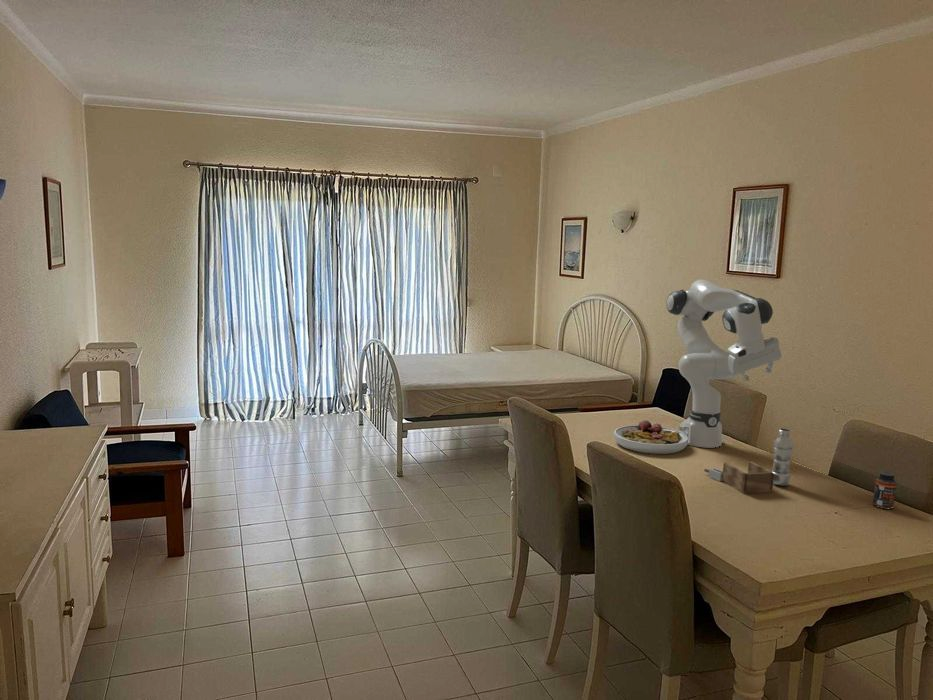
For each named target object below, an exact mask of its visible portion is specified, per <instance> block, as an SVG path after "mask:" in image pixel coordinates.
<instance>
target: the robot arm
mask: <svg viewBox="0 0 933 700" xmlns="http://www.w3.org/2000/svg"><path fill="white" fill-rule="evenodd" d="M665 304H666V310H667V311H668V313H669V314H672V315H675V316H682V317H680V319H679V320H678V322H677V331H678V335H679V337H680V340H681V342H682V344H683V347H684V348H685V350H686V352H687V354H684V355H682V356H681V357H680V359H679V361H678V365H677V366H678V370H679V371H678V372H679V373H680V375H681V376H682V377H683V378H685V380H686V381H687V382H688V383H689V385H690V387H691V388H690V389H691V390H692V406H691V407H692V409H690V410H689V412H688V413H689V416H688V418H686V419H685V420H683V421H682V422H681V423H680V425H679V428H678V429H679V430H678V431H679V432H682V433H684V434H685V435H687V437H688V443H687V445H686V446H693V447H696V448H697V447H698V448H707V449H708V448H709V449H713V448H715V447H716V448H719V446H720V447H721V446H722V443H723V444H725V441H724V439H723V427H722V426H723V425H722V423H721V422H720V421H721V419H722V418H721V417H722V415H721V413H722V412H721V399H722V396H721V393H720V391H719V390H717V389H716V388H714V387H712V386H711V385H710V380H727V379H731V378H735V377H736V376H737V375H739V374H740V375H741V376H742V380H743V381H745V382H747V381H749V375H747V374H746V372H747V371H750V370H753V369H756V368H758V367H761V366H765V365H767V367H765V372H766V373H767V374H770V373H772V367H773V365H774V362H775V361H779V360H780V359H781V358H782V357H783V356H782V351H781V348H780V342H779V339H778V338H777V337H774V336H773V337H769V338H767V339H765V337H764V333H763V331H762V325H764V324H768V323H769V322H770V321H771V319H772V317H773V315H774V311H773V309H774V308H773V306H772V304H771V303H770V302H769V301H767V300H766V299H765V298H762V297H755V296H752V295H750V294H747V293H746V292H743V291H739V290H737V289H731V288H730V289H729V288H725V287H722V286H720V285H719V286H718V285H717V284H716V283H714V282H712V281H709V280H707V279H701V278H700V279H697V280H695V281H693V282H692V283H691V285H690V287H689V289H688V290H684V289H680V290H675V291H673V292H670V294H668V296H667V298H666V303H665ZM724 310H725V311H724ZM721 311H724V312H723V314H722V317H721V319H722V325H723V327H724V329H725V331H728V332H730V333H733V334H737V336H738V341H736V342H735V343H734V344H732V345H730V346H729V347H728V348H727V351H726V350H725V349H722V348H721V347H720V346H719V345H717V344H716V343H715V342H714V340H712V338H711V337H710V335H709V334H708V332H707V330H706V328H705V326H704V324H703V322H705V321H707V320H709V318H710V317H711V316H713V314H714V313H717V312H721Z"/></svg>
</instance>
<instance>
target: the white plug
mask: <svg viewBox="0 0 933 700" xmlns="http://www.w3.org/2000/svg"><path fill="white" fill-rule="evenodd" d="M704 472H706V473H707V474H708V478H709V477H710V479H712V478H713V479H712V480H715V479H716V481H717V480H718V481H717V482H723V481H722V478H723V469H718V468H715V467H713V469H711V468H709V469H707V468H704Z"/></svg>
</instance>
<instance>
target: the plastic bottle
mask: <svg viewBox="0 0 933 700" xmlns="http://www.w3.org/2000/svg"><path fill="white" fill-rule="evenodd" d="M790 436H791V430H790V429H788V428H779V429H778V436H777V437H776V439H774V441H773V463H772V469H771V472H773V473H774V478H773V485H777V486H783V487H784V486H788V485H789V484H790V482H791V481H790V480H791V474H790V473H791V472H790V471H791V470H790V469H791V467H790V464H791V457H792V452H793V449H794V444H793V441H792V439H791V438H790Z"/></svg>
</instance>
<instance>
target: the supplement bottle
mask: <svg viewBox="0 0 933 700" xmlns="http://www.w3.org/2000/svg"><path fill="white" fill-rule="evenodd" d="M896 492H897V482H896V480H895V474H894V473H892V472H889V471H880V473H879V476H878V477H877V478H875V483H874V492H873V497H872V498H873V499H872V505H873V504H874V505H876V506H879V507H883V508H891V507H893V506H894V505H895V500H896ZM874 505H873V506H874ZM876 506H875V507H876ZM893 508H894V507H893Z"/></svg>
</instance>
